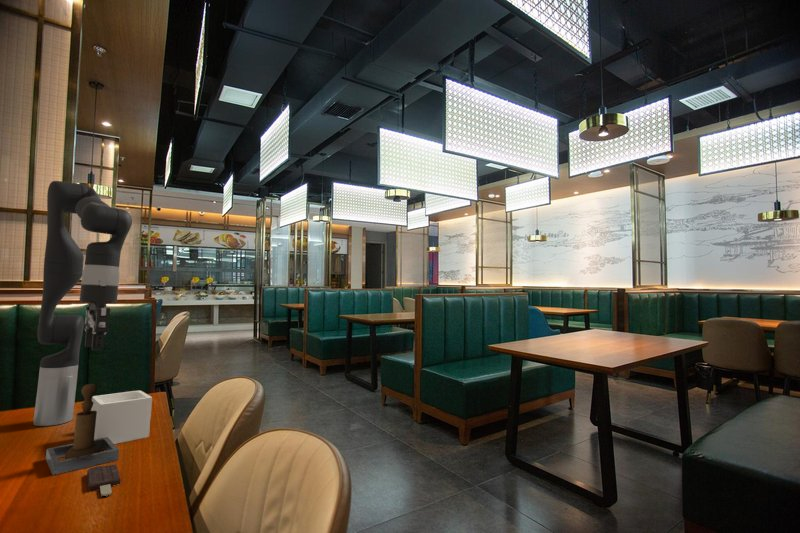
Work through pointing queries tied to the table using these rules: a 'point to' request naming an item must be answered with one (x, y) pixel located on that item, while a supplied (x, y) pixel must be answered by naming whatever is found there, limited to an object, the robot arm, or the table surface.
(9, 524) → the table surface
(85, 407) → the mortar and pestle
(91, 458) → the low collar
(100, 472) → the ice cream bar
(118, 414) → the box
